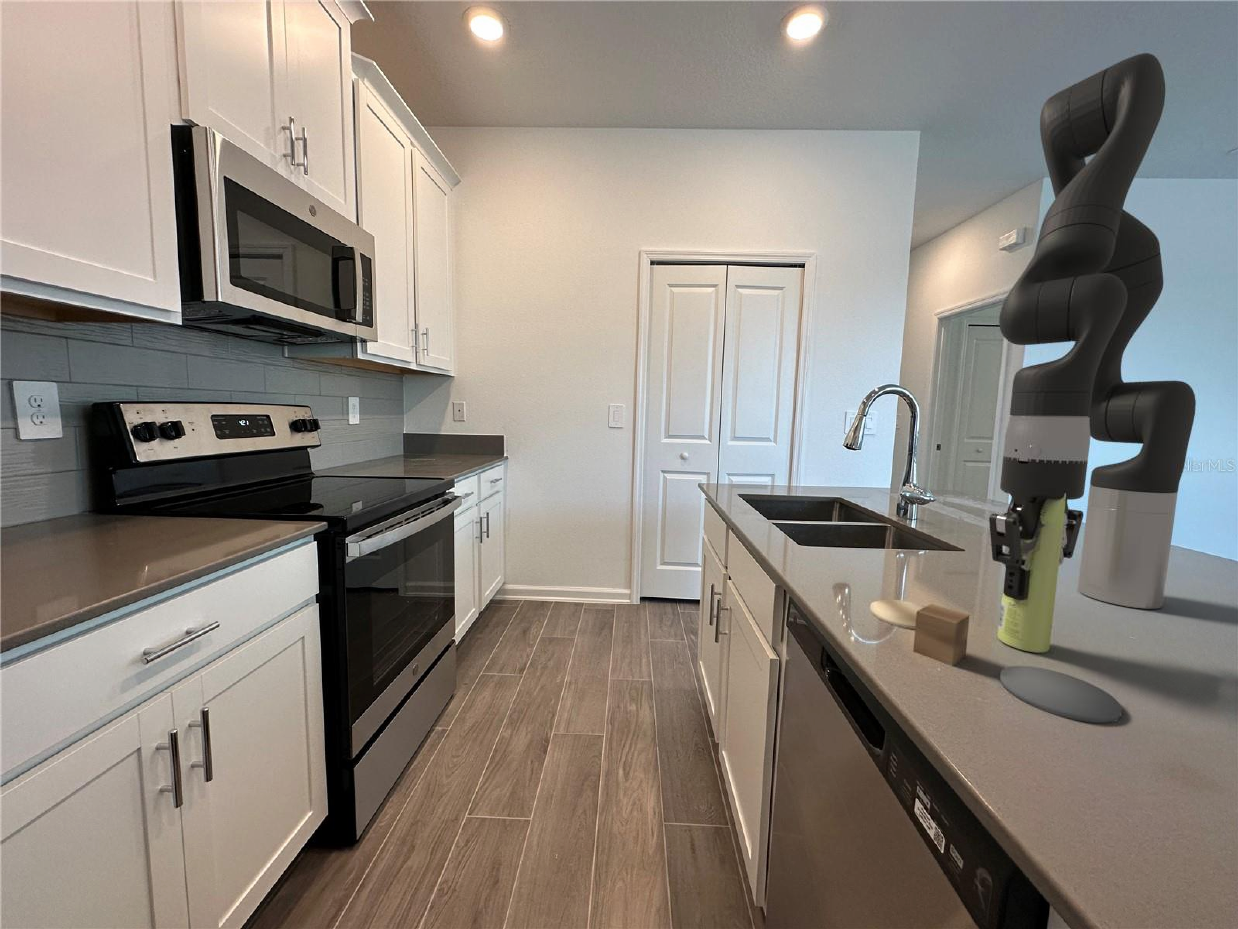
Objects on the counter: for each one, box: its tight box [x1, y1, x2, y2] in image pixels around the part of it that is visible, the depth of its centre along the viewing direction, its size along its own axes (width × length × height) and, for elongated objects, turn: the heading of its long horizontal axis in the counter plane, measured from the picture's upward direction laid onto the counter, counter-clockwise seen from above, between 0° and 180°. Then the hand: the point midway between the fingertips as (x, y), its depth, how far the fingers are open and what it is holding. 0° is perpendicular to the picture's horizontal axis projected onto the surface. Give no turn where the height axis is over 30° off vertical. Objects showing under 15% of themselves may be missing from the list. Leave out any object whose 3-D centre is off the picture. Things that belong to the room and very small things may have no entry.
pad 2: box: [999, 665, 1122, 724], centre depth 49 cm, size 9×9×1 cm
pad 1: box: [869, 599, 927, 631], centre depth 68 cm, size 9×9×1 cm
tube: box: [997, 493, 1066, 653], centre depth 58 cm, size 6×5×20 cm
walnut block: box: [913, 603, 970, 667], centre depth 57 cm, size 4×4×5 cm
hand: (1029, 594), depth 59 cm, fingers closed on tube, 4 cm apart
